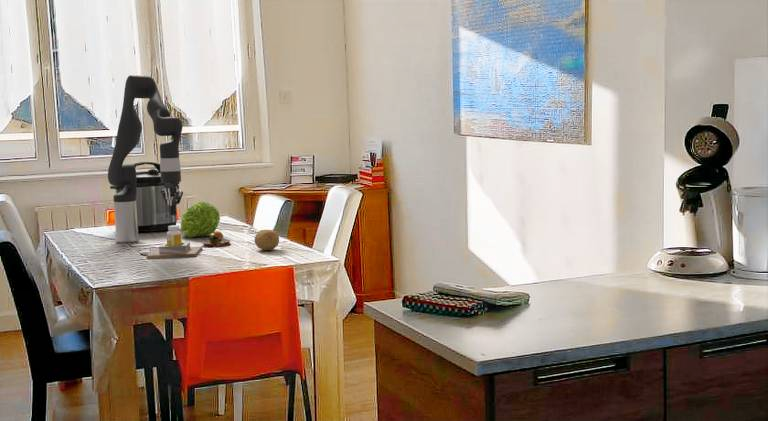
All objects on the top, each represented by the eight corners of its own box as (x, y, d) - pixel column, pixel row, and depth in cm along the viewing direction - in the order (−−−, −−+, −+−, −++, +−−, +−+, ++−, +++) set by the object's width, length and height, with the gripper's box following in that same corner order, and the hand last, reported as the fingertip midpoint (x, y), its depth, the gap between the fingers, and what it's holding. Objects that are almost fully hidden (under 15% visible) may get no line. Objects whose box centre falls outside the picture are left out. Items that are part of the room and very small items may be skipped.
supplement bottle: (166, 252, 343) (164, 227, 342) (169, 249, 349) (167, 225, 347) (180, 251, 343) (178, 226, 342) (183, 249, 349) (181, 224, 347)
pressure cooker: (182, 224, 438) (179, 159, 435) (179, 232, 410) (175, 162, 407) (118, 227, 433) (114, 161, 430) (110, 235, 406) (106, 165, 402)
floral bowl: (216, 242, 375) (215, 224, 374) (236, 244, 368) (235, 226, 367) (194, 246, 365) (193, 228, 364) (215, 248, 358) (214, 230, 357)
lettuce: (174, 243, 401) (209, 243, 408) (187, 232, 379) (224, 232, 386) (173, 210, 404) (208, 211, 411) (186, 197, 382) (223, 198, 389)
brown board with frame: (155, 251, 354) (155, 241, 354) (202, 249, 355) (201, 240, 355) (146, 258, 337) (146, 248, 336) (195, 256, 338) (194, 247, 337)
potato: (274, 246, 357) (273, 226, 356) (284, 251, 344) (283, 230, 343) (250, 248, 354) (249, 228, 353) (258, 253, 341) (258, 232, 340)
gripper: (188, 169, 340) (190, 215, 342) (170, 168, 350) (172, 213, 352) (170, 171, 335) (173, 217, 337) (152, 170, 345) (155, 215, 347)
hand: (173, 215), depth 344 cm, fingers closed
